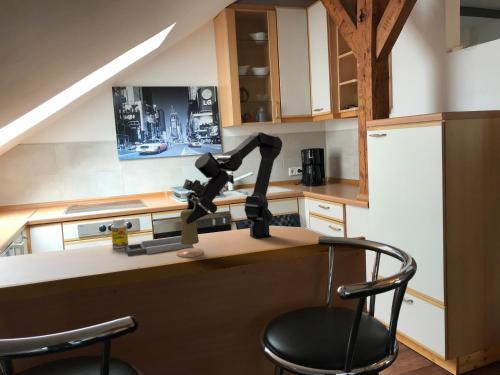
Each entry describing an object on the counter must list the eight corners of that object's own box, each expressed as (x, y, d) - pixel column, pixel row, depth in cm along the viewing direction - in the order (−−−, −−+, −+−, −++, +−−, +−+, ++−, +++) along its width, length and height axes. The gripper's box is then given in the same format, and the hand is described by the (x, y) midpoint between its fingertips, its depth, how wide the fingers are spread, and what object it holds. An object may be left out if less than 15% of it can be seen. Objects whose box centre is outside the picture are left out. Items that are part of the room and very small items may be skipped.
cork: (197, 244, 135) (195, 211, 134) (179, 245, 136) (177, 212, 134) (200, 239, 141) (198, 207, 140) (182, 240, 142) (180, 208, 140)
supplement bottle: (110, 249, 149) (108, 221, 148) (115, 245, 155) (112, 218, 153) (126, 248, 149) (124, 220, 148) (130, 244, 155) (128, 217, 154)
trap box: (142, 247, 150) (142, 243, 150) (146, 253, 141) (146, 248, 141) (125, 249, 147) (124, 245, 147) (128, 255, 139) (128, 251, 139)
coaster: (199, 248, 145) (199, 246, 144) (207, 254, 136) (207, 252, 136) (173, 252, 141) (173, 250, 141) (180, 258, 133) (180, 257, 133)
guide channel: (185, 240, 157) (184, 235, 157) (192, 247, 147) (192, 241, 146) (141, 246, 151) (141, 241, 150) (147, 253, 141) (146, 248, 140)
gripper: (189, 168, 145) (160, 203, 143) (205, 171, 128) (172, 211, 126) (212, 188, 150) (184, 222, 147) (230, 194, 132) (199, 233, 130)
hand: (184, 221), depth 137 cm, fingers closed on cork, 5 cm apart
